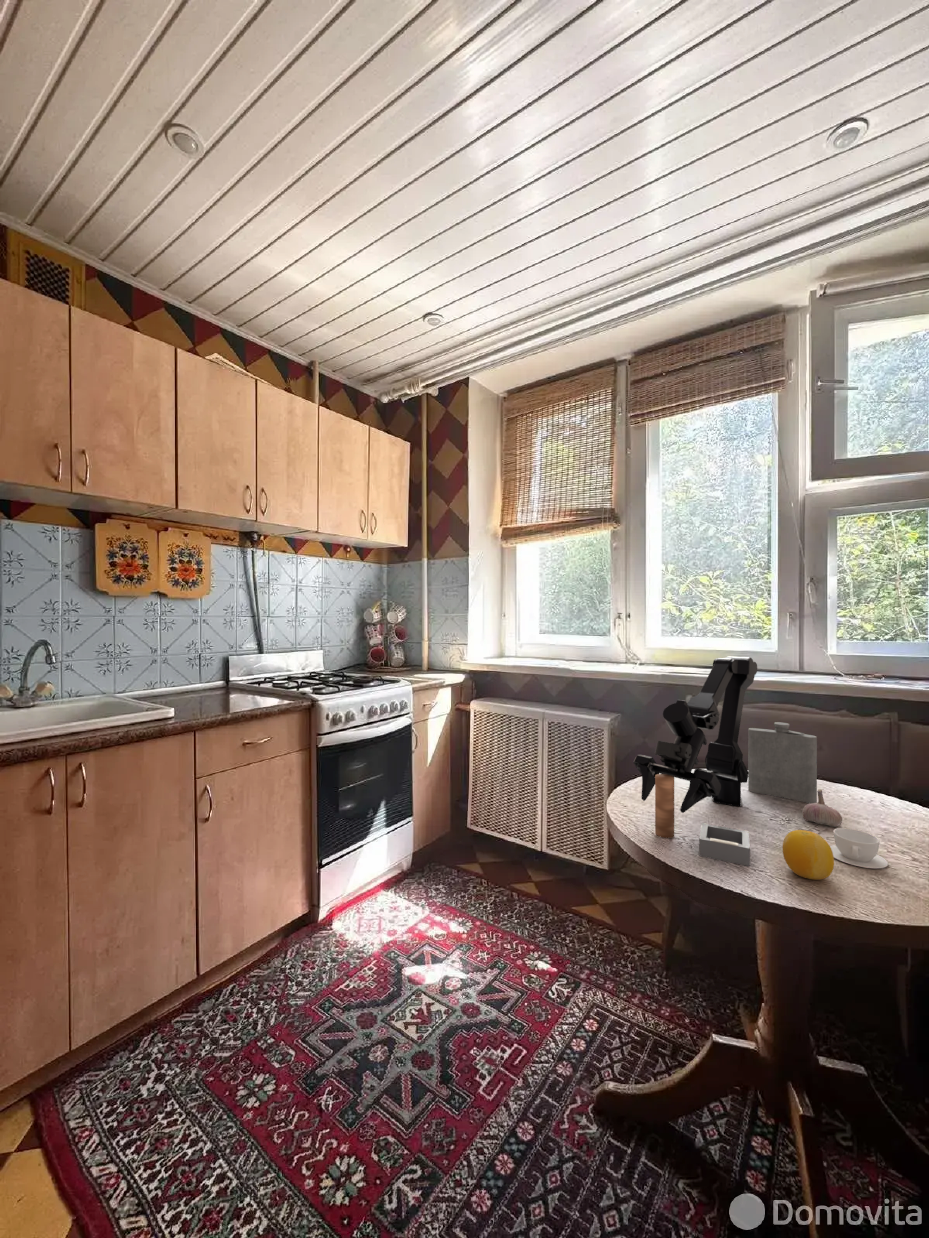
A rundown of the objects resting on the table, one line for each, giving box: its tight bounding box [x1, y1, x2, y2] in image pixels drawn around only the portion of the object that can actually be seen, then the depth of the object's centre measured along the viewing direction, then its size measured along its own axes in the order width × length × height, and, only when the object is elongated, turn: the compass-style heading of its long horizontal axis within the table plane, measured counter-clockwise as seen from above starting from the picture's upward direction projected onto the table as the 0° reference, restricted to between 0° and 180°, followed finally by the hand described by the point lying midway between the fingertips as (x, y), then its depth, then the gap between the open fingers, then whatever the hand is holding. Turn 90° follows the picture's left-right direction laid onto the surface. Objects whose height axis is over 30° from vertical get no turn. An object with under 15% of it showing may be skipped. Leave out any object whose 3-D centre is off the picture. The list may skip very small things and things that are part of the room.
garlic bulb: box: [802, 788, 843, 827], centre depth 118 cm, size 8×7×8 cm
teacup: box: [829, 827, 889, 869], centre depth 101 cm, size 10×10×5 cm
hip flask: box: [747, 721, 818, 804], centre depth 136 cm, size 16×4×20 cm, turn 50°
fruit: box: [782, 829, 835, 881], centre depth 94 cm, size 9×8×8 cm
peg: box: [654, 773, 675, 839], centre depth 111 cm, size 4×4×13 cm
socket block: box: [698, 822, 751, 867], centre depth 103 cm, size 9×9×4 cm
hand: (661, 805), depth 111 cm, fingers open, 9 cm apart
